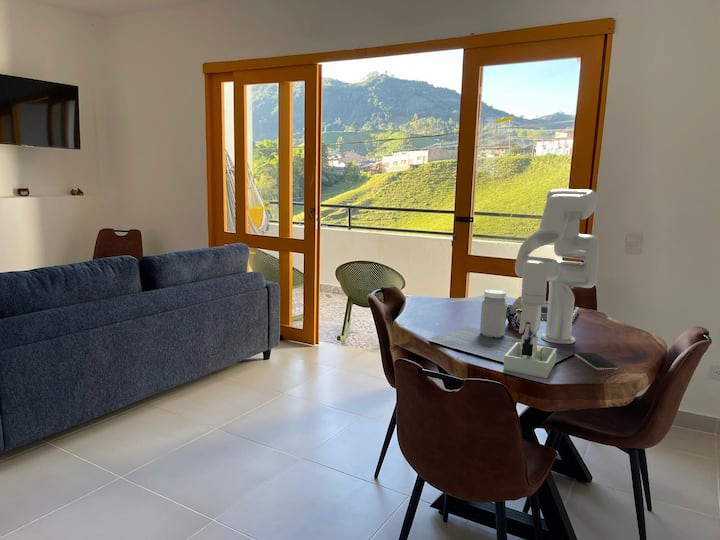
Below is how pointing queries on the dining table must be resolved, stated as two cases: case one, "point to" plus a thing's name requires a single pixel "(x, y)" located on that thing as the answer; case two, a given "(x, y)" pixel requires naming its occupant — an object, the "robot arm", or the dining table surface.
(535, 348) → the aluminium cylinder
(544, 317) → the speaker stand
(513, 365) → the tote
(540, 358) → the maple cube
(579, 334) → the dining table surface
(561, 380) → the dining table surface
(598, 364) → the smartphone
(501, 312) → the jar
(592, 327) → the dining table surface
